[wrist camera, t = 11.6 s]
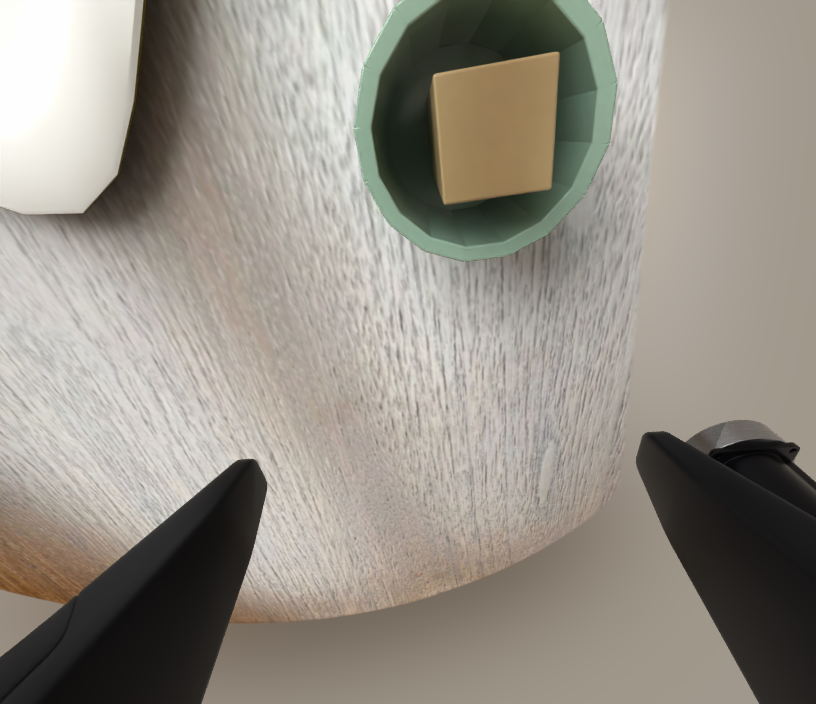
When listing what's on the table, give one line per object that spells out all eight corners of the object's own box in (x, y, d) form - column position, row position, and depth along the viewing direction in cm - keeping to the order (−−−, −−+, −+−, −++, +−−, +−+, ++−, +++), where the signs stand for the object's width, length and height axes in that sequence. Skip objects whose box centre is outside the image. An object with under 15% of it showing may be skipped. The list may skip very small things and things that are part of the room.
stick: (493, 89, 15) (561, 50, 8) (494, 166, 16) (552, 190, 9) (425, 101, 15) (432, 73, 8) (432, 175, 16) (443, 205, 9)
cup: (542, 14, 14) (639, -79, 8) (534, 206, 17) (597, 244, 11) (364, 48, 14) (326, -13, 8) (392, 227, 18) (380, 273, 12)
